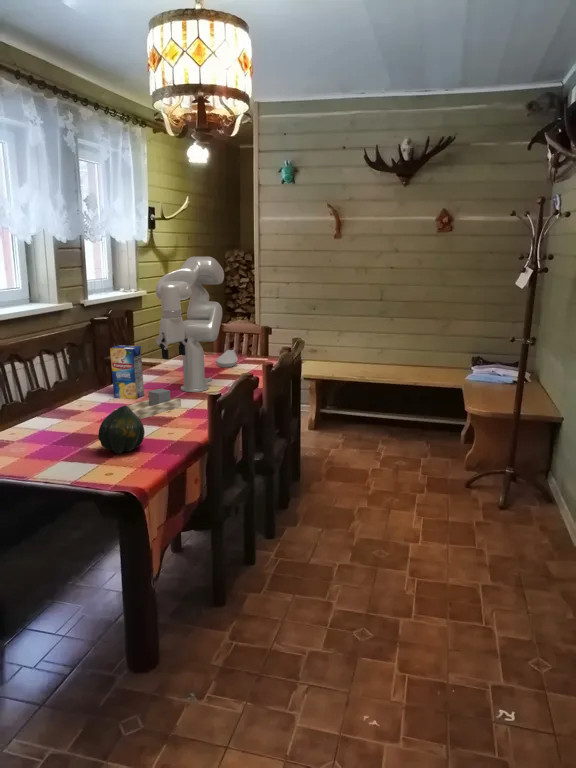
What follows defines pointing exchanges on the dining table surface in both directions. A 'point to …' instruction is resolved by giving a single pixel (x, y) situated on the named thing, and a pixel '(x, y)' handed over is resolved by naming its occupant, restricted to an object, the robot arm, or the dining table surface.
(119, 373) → the beverage box
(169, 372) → the dining table surface
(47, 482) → the dining table surface
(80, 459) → the dining table surface
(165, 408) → the birch chute
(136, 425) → the squash
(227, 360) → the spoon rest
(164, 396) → the slate block
